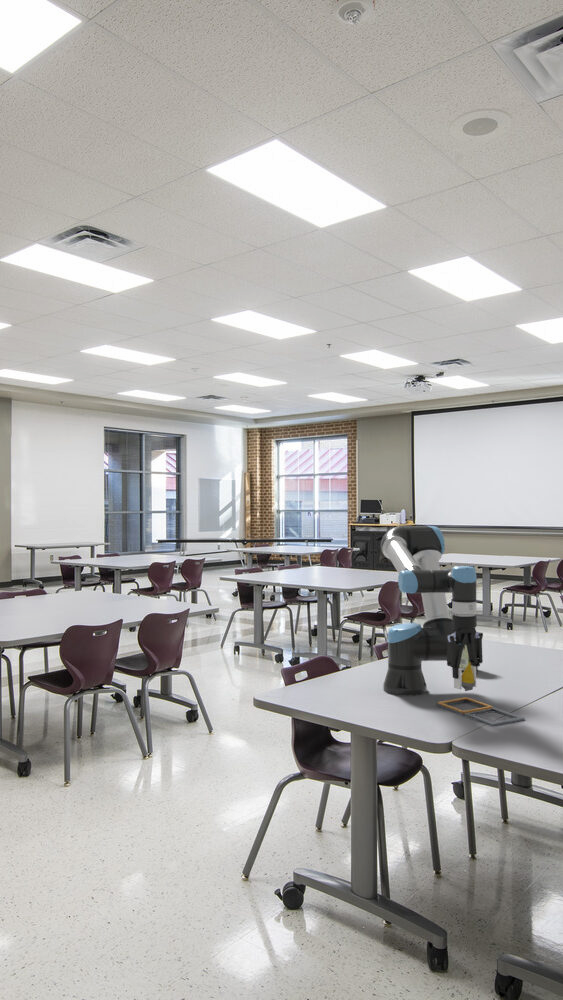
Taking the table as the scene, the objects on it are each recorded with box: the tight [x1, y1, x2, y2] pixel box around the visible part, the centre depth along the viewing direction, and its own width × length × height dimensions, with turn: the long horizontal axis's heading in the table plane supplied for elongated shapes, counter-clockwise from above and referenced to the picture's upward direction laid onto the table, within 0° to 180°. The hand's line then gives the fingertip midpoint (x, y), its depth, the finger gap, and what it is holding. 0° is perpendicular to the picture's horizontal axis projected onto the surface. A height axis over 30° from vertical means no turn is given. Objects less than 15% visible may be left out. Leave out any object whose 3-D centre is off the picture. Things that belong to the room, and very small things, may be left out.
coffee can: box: [459, 645, 479, 671], centre depth 273 cm, size 10×10×14 cm
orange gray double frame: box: [435, 696, 526, 727], centre depth 211 cm, size 25×13×1 cm, turn 27°
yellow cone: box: [462, 662, 475, 692], centre depth 216 cm, size 5×5×10 cm
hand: (465, 687), depth 217 cm, fingers closed on yellow cone, 5 cm apart
